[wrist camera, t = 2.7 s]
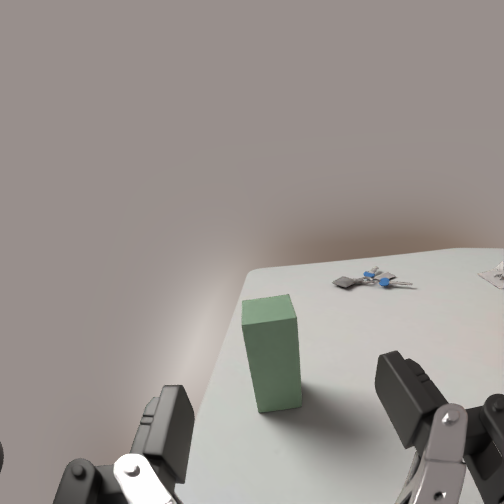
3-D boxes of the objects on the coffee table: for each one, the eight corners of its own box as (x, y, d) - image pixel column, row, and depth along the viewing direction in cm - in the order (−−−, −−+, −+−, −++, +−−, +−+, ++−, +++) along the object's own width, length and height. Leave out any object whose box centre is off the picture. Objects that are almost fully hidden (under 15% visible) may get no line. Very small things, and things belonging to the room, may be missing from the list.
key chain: (331, 289, 44) (331, 284, 44) (334, 270, 52) (334, 266, 51) (412, 287, 39) (413, 283, 39) (404, 269, 47) (404, 264, 46)
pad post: (301, 406, 22) (296, 317, 19) (258, 413, 22) (241, 325, 19) (295, 379, 26) (288, 294, 23) (256, 384, 26) (241, 300, 23)
